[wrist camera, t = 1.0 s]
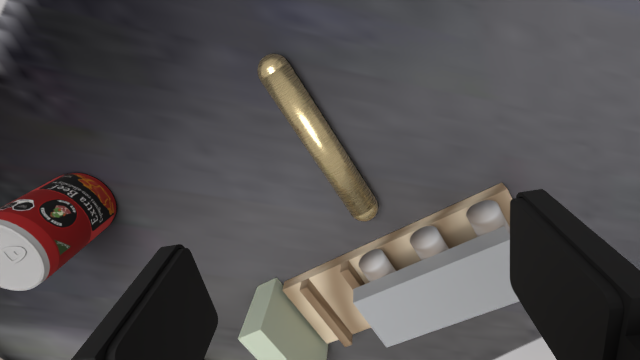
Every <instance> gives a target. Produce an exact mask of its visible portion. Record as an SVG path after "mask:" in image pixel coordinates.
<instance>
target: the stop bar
mask: <svg viewBox="0 0 640 360" xmlns="http://www.w3.org/2000/svg"><path fill="white" fill-rule="evenodd" d="M282 289H283V285H282V283H281V282H280V281H279V280H278V278H274V279H272V280H270V281H268V282H266V283H264V284H262V285H259V286H257V289H256V292H255V295H254V297H253V300H252V303H251V305H250V308H249V311H248V313H247V316H246V319H245V321H244V324H243V327H242V329H241V332H240V335H239V337H238V340H239V341H240V342H241V343H242V344H243V345H244V346H245V347H246V348H247V349H248V350H249V351H250V352H251V353H252V354H253V355H254V356H255V358H256V359H257V360H327V351H328V344H326V342H325V341H324V340H323V339H322V338H321V336H320V335H319V334H318V333H317V332H316V330H315V329H314V328H313V327H312V326H311V324H310V323H309V322H308V321H307V320H306V318H305V317H304V316H303V315H302V313H301V312H300V311H299V310H298V309H297V307H296V306H295V305H294V304H293V303H292V301H291V300H290V299H289V298H288V297H287V295H286V294H285V293H284V292H283V291H282Z"/></svg>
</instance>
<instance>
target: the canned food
mask: <svg viewBox="0 0 640 360" xmlns="http://www.w3.org/2000/svg"><path fill="white" fill-rule="evenodd" d="M115 214H116V202H115V199H114V196H113V195H112V193H111V191H110V190H109V189H108V188H107V187H106V186H105V185H104V184H103V183H102V182H101V181H99V180H98V179H96V178H94V177H92V176H90V175H86V174H82V173H71V174H65V175H62V176H59V177H57V178H55V179H53V180H51V181H50V182H48V183H46V184H44V185H42V186H40V187H38V188H36V189H35V190H33V191H31V192H29V193H27V194H25V195H23V196H22V197H20V198H18V199H16V200H14V201H12V202H10V203H8V204H7V205H5V206H3V207H1V208H0V287H2V288H5V289H9V290H15V291H25V290H29V289H32V288H34V287H36V286H37V285H39V284H40V283H42V282H43V281H44V280H46V279H47V278H48V277H49V276H51V275H52V274H53V273H54V272H55V271H57V270H58V269H59V268H60V267H61V266H62V265H64V264H65V263H66V262H67V261H68V260H69V259H71V258H72V257H73V256H74V255H75V254H76V253H78V252H79V251H80V250H81V249H82V248H83V247H85V246H86V245H87V244H88V243H89V242H91V241H92V240H93V239H94V238H95V237H96V236H98V235H99V234H100V233H101V232H102V231H103V230H105V229H106V228H107V227H108V226H109V225H110V224H111V222H112V220H113V219H114V217H115Z"/></svg>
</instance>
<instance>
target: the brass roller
mask: <svg viewBox="0 0 640 360" xmlns="http://www.w3.org/2000/svg"><path fill="white" fill-rule="evenodd" d="M258 76H259V79H260V80H261V82H262V84H263V85H264V86H265V88H266V89H267V91H268V92H269V94H270V95H271V97H272V98H273V100H274V101H275V103H276V104H277V106H278V107H279V109H280V110H281V112H282V113H283V114H284V116H285V117H286V119H287V120H288V122H289V123H290V125H291V126H292V128H293V129H294V131H295V132H296V134H297V135H298V137H299V138H300V140H301V141H302V142H303V144H304V145H305V147H306V148H307V150H308V151H309V153H310V154H311V156H312V157H313V159H314V160H315V162H316V163H317V165H318V166H319V168H320V169H321V170H322V172H323V173H324V175H325V176H326V178H327V179H328V181H329V182H330V184H331V185H332V187H333V188H334V190H335V191H336V193H337V194H338V196H339V197H340V199H341V200H342V201H343V203H344V204H345V206H346V207H347V209H348V210H349V212H350V213H351V215H352V216H353V217H354V218H355V219H357V220H359V221H368V220H371V219H372V218H373V217H375V215H376V214H377V211H378V203H377V200H376V199H375V197H374V195H373V194H372V192H371V191H370V189H369V188H368V186H367V184H366V183H365V181H364V180H363V178H362V177H361V175H360V173H359V172H358V170H357V169H356V167H355V166H354V164H353V163H352V161H351V159H350V158H349V156H348V155H347V153H346V152H345V150H344V148H343V147H342V145H341V144H340V142H339V141H338V139H337V137H336V136H335V134H334V133H333V131H332V130H331V128H330V127H329V125H328V123H327V122H326V120H325V119H324V117H323V116H322V114H321V112H320V111H319V109H318V108H317V106H316V105H315V103H314V101H313V100H312V98H311V97H310V95H309V94H308V92H307V91H306V89H305V87H304V86H303V84H302V83H301V81H300V80H299V78H298V76H297V75H296V73H295V72H294V70H293V69H292V67H291V65H290V64H289V62H288V61H287V60H286V59H285V58H284V57H283V56H281V55H278V54H269V55H267V56H265V57H264V58H262V60H261V61H260V63H259V65H258Z"/></svg>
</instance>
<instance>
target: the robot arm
mask: <svg viewBox="0 0 640 360" xmlns="http://www.w3.org/2000/svg"><path fill="white" fill-rule="evenodd" d="M510 283H511V286H512V289H513V291H514V293H515V294H516V296H517V297H518V299H519V301H520V302H521V304H522V305H523V307H524V309H525V310H526V312H527V313H528V315H529V316H530V318H531V320H532V321H533V323H534V324H535V326H536V328H537V329H538V331H539V332H540V334H541V335H542V337H543V339H544V340H545V342H546V343H547V345H548V347H549V348H550V349H551V351H552V353H553V354H554V356H555V358H556V359H557V360H640V270H638V269H637V268H636V267H635V266H634V265H633V264H631V263H630V262H629V261H628V260H627V259H625V258H624V257H623V256H622V255H621V254H619V253H618V252H617V251H616V250H615V249H614V248H612V247H611V246H610V245H609V244H608V243H606V242H605V241H604V240H603V239H602V238H600V237H599V236H598V235H597V234H596V233H594V232H593V231H592V230H591V229H590V228H588V227H587V226H586V225H585V224H584V223H583V222H581V221H580V220H579V219H578V218H577V217H575V216H574V215H573V214H572V213H571V212H569V211H568V210H567V209H566V208H565V207H564V206H562V205H561V204H560V203H559V202H558V201H556V200H555V199H554V198H553V197H552V196H550V195H549V194H548V193H547V192H546V191H544V190H543V189H539V190H533V191H526V192H520V193H518V194H517V197H516V199H512V200H511V201H510ZM217 324H218V316H217V312H216V310H215V308H214V305H213V303H212V301H211V298H210V296H209V294H208V291H207V289H206V287H205V284H204V282H203V280H202V277H201V275H200V272H199V270H198V268H197V265H196V263H195V261H194V258H193V256H192V254H191V252H190V250H189V249H188V248H184V246H183V245H180V244H179V245H172V246H166V247H161V248H160V249H159V250H158V251H157V253H156V254H155V255H154V256H153V258H152V259H151V260H150V261H149V263H148V264H147V265H146V266H145V268H144V269H143V270H142V271H141V273H140V274H139V275H138V276H137V278H136V279H135V280H134V281H133V283H132V284H131V285H130V287H129V288H128V289H127V290H126V292H125V293H124V294H123V295H122V297H121V298H120V299H119V300H118V302H117V303H116V304H115V305H114V307H113V308H112V309H111V310H110V312H109V313H108V314H107V315H106V317H105V318H104V319H103V320H102V322H101V323H100V324H99V325H98V327H97V328H96V329H95V330H94V332H93V333H92V334H91V336H90V337H89V338H88V339H87V341H86V342H85V343H84V344H83V346H82V347H81V348H80V349H79V351H78V352H77V353H76V354H75V356H74V357H73V358H72V359H71V360H203V359H204V357H205V354H206V352H207V350H208V347H209V345H210V342H211V340H212V337H213V335H214V332H215V330H216V327H217Z"/></svg>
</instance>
